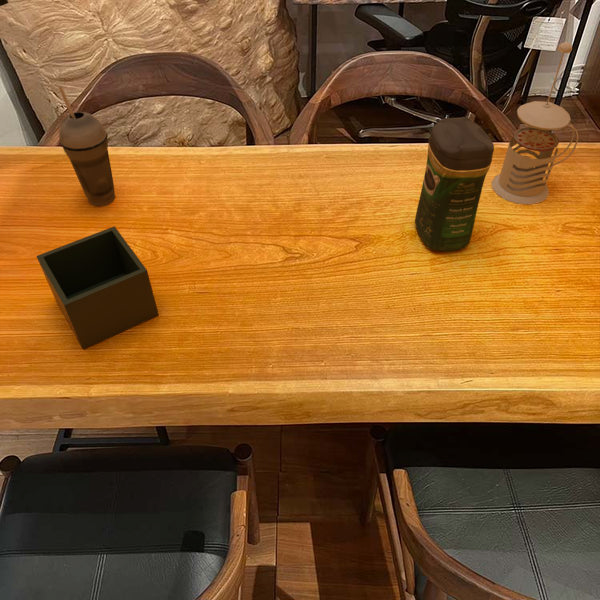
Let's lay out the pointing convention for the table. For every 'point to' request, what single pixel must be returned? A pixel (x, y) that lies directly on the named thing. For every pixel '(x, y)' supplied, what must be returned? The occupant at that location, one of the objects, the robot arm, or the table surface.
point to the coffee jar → (452, 183)
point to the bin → (99, 286)
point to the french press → (520, 169)
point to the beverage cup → (88, 154)
